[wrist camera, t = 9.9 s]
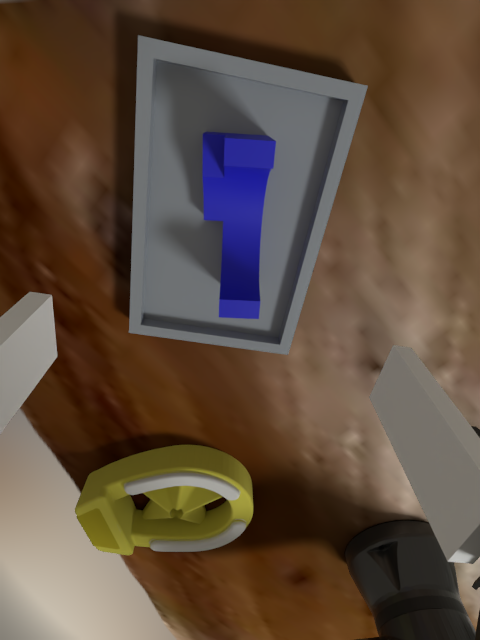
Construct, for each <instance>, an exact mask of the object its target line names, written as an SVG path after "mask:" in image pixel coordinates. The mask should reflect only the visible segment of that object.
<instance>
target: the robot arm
mask: <svg viewBox="0 0 480 640" xmlns="http://www.w3.org/2000/svg"><path fill="white" fill-rule="evenodd" d="M56 358H57V348H56V336H55V325H54V314H53V302H52V295H48V294H41V293H35V292H29V293H28V294H27V295H26V296H24V297H23V298H22V299H21V300H20V301H19V302H17V303H16V304H15V305H14V306H13V307H12V308H11V309H9V310H8V311H7V312H6V313H5V314H4V315H3V316H1V317H0V434H1V433H2V431H3V430H4V429H5V427H6V426H7V425H8V423H9V422H10V420H11V419H12V418H13V416H14V415H15V413H16V412H17V411H18V409H19V408H20V407H21V405H22V404H23V403H24V401H25V400H26V399H27V397H28V396H29V394H30V393H31V392H32V390H33V389H34V388H35V386H36V385H37V384H38V382H39V381H40V379H41V378H42V377H43V375H44V374H45V373H46V371H47V370H48V368H49V367H50V366H51V364H52V363H53V362H54V360H55V359H56ZM369 398H370V400H371V402H372V404H373V406H374V408H375V410H376V413H377V415H378V417H379V419H380V421H381V423H382V425H383V427H384V429H385V431H386V434H387V436H388V438H389V440H390V442H391V444H392V446H393V448H394V450H395V452H396V454H397V457H398V459H399V461H400V463H401V465H402V467H403V469H404V471H405V473H406V475H407V478H408V480H409V482H410V484H411V486H412V488H413V490H414V492H415V494H416V496H417V498H418V501H419V503H420V505H421V507H422V509H423V511H424V513H425V515H426V517H427V519H428V522H429V524H428V523H424V522H419V521H394V522H388V523H384V524H380V525H377V526H374V527H372V528H369V529H367V530H365V531H363V532H362V533H360V534H359V535H357V536H356V537H355V538H354V539H352V541H351V542H350V543H349V544H348V546H347V548H346V551H345V558H346V562H347V566H348V570H349V573H350V575H351V577H352V579H353V580H354V582H355V584H356V586H357V588H358V589H359V591H360V593H361V595H362V596H363V598H364V600H365V602H366V604H367V605H368V607H369V609H370V611H371V612H372V614H373V617H374V620H375V623H376V627H377V631H378V634H379V637H375V638H366V639H356V640H480V611H479V617H478V623H477V629H476V631H475V629H474V627H473V625H472V623H471V621H470V619H469V617H468V614H467V612H466V610H465V608H464V606H463V604H462V601H461V598H460V594H459V589H458V583H457V577H456V571H455V566H454V562H459V563H471V564H473V563H474V562H475V561H476V560H477V559H478V558H479V557H480V430H479V429H478V428H477V427H473V426H470V424H469V423H468V422H467V420H466V419H465V418H464V416H463V415H462V414H461V412H460V411H459V410H458V409H457V407H456V406H455V405H454V403H453V402H452V401H451V399H450V398H449V397H448V395H447V394H446V393H445V391H444V390H443V389H442V387H441V386H440V385H439V384H438V382H437V381H436V380H435V378H434V377H433V376H432V374H431V373H430V372H429V370H428V369H427V368H426V366H425V365H424V364H423V362H422V361H421V360H420V358H419V357H418V356H417V355H416V353H415V352H414V351H413V349H412V348H409V347H403V346H396V345H393V347H392V349H391V351H390V353H389V356H388V358H387V360H386V362H385V364H384V366H383V369H382V371H381V373H380V375H379V377H378V379H377V381H376V384H375V386H374V388H373V390H372V392H371V394H370V397H369ZM472 587H473V588H474V589H476V590H477V589H478V588H479V587H480V577H479V578H478V579H477V580H476V581H475V582H474V584H473V586H472Z"/></svg>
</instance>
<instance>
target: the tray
mask: <svg viewBox="0 0 480 640" xmlns="http://www.w3.org/2000/svg"><path fill="white" fill-rule="evenodd" d="M367 87H368V86H366V85H361V84H357V83H352V82H348V81H343V80H339V79H334V78H330V77H325V76H321V75H316V74H312V73H307V72H302V71H298V70H293V69H289V68H284V67H280V66H275V65H271V64H266V63H262V62H257V61H253V60H248V59H244V58H239V57H235V56H230V55H226V54H221V53H216V52H212V51H207V50H203V49H198V48H194V47H189V46H185V45H180V44H176V43H171V42H167V41H162V40H158V39H153V38H149V37H144V36H140V35H138V54H137V87H136V120H135V153H134V187H133V220H132V253H131V287H130V320H129V333H135V334H142V335H149V336H156V337H164V338H171V339H178V340H185V341H192V342H199V343H207V344H214V345H221V346H228V347H235V348H243V349H250V350H257V351H264V352H271V353H278V354H286V355H288V353H289V349H290V346H291V343H292V339H293V336H294V333H295V329H296V326H297V323H298V319H299V316H300V312H301V309H302V306H303V302H304V299H305V296H306V292H307V289H308V286H309V282H310V279H311V275H312V272H313V269H314V265H315V262H316V259H317V255H318V252H319V249H320V245H321V242H322V238H323V235H324V232H325V228H326V225H327V222H328V218H329V215H330V212H331V208H332V205H333V201H334V198H335V195H336V191H337V188H338V185H339V181H340V178H341V175H342V171H343V168H344V164H345V161H346V158H347V154H348V151H349V148H350V144H351V141H352V138H353V134H354V131H355V127H356V124H357V121H358V117H359V114H360V111H361V107H362V104H363V101H364V97H365V94H366V90H367ZM205 132H220V133H235V134H251V135H266V136H269V137H271V138H272V139H273V140H275V141H276V147H275V157H274V167H273V169H271V171H270V173H269V177H268V181H267V186H266V192H265V199H264V207H263V216H262V227H261V241H260V263H259V289H260V311H259V319H244V318H221V317H219V297H220V281H221V262H222V239H223V221H211V220H204V196H203V177H202V175H203V133H205Z"/></svg>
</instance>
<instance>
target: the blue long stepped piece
mask: <svg viewBox="0 0 480 640" xmlns="http://www.w3.org/2000/svg"><path fill="white" fill-rule="evenodd" d="M275 147H276V141H275V140H273V139H272V138H271V137H269V136H266V135H251V134H235V133H220V132H205V133H203V175H202V177H203V196H204V220H211V221H223V239H222V262H221V281H220V297H219V317H221V318H244V319H259V311H260V289H259V263H260V241H261V227H262V216H263V207H264V199H265V192H266V186H267V181H268V177H269V173H270V171H271V169H273V167H274V157H275Z"/></svg>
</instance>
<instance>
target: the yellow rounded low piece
mask: <svg viewBox="0 0 480 640" xmlns="http://www.w3.org/2000/svg"><path fill="white" fill-rule="evenodd" d="M140 493H143V494H145V495H146V496H147V497H149V498H150V501H149V502H148V504H147V505H146V507H145V508H144V509H143V510H138V509H136V507H135V505H134V502H133V500H132V498H131V496H130V495H136V494H140ZM221 497H224V498H226V499H227V500H226V501H225V502H224V503H223V504H222V505H220V506H219V507H217V508H215V509H212V510H209V511H206V508H205V505H206V504H208V503H210V502H212V501H215V500H217V499H219V498H221ZM75 513H76V514H77V519H78V520H79V522H80V524H81V526H82V527H83V529H84V530H85V532H86V534H87V536H88V537H89V539H90V541H91V542H92V544H93V546H95V547H96V548H97V549H98V550H100V551H103V552H110V553H117V554H123V555H131V554H132V553H133V550H134V546H142V547H150V548H151V549H152V550H154V551H166V552H195V551H204V550H210V549H214V548H218V547H221V546H223V545H226V544H228V543H230V542H231V541H233V540H234V539H236V538H237V537H238V536H240V535H241V534H242V533H243V531H244V530H245V529H246V527H247V526H248V524H249V523H250V521H251V519H252V515H253V491H252V481H251V477H250V475H249V473H248V471H247V470H246V468H245V467H244V466H243V465H242V464H241V463H240V462H239V461H238V460H236V459H235V458H233V457H232V456H230V455H228V454H226V453H224V452H222V451H219V450H217V449H213V448H210V447H205V446H198V445H174V446H169V447H163V448H158V449H154V450H149V451H146V452H142V453H138V454H135V455H132V456H129V457H126V458H123V459H121V460H118V461H115V462H113V463H111V464H108V465H106V466H104V467H102V468H100V469H98V470H96V471H94V472H92V473H90V474H89V475H88V478H87V480H86V483H85V485H84V488H83V490H82V493H81V495H80V498H79V500H78V503H77V505H76V508H75Z"/></svg>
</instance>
